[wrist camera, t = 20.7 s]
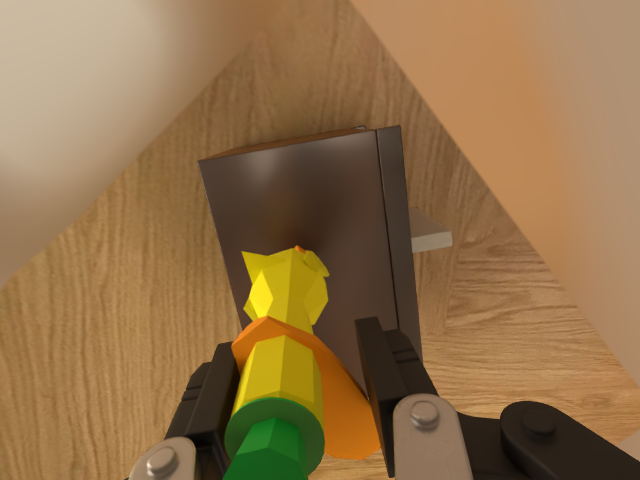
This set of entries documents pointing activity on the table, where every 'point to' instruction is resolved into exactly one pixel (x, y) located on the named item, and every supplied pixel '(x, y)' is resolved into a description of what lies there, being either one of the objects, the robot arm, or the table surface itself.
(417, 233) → the door
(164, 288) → the table surface
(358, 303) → the cupboard
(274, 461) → the toy figure
